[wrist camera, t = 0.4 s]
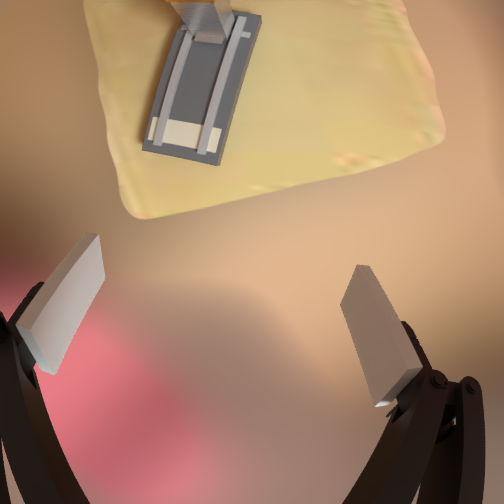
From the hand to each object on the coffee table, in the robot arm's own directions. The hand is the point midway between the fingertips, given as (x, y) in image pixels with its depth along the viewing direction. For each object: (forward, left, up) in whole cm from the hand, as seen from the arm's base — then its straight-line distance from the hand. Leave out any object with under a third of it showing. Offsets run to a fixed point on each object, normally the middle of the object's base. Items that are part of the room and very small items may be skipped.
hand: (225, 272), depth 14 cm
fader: (-21, -10, -20) cm, 31 cm away
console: (-14, -10, -24) cm, 29 cm away
